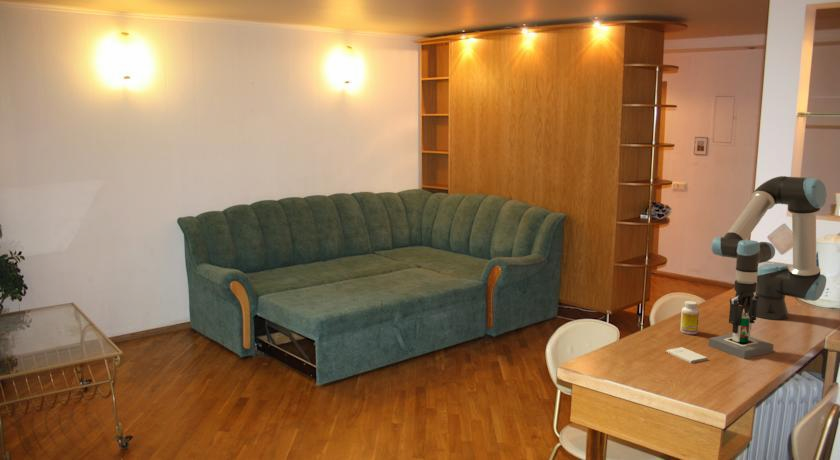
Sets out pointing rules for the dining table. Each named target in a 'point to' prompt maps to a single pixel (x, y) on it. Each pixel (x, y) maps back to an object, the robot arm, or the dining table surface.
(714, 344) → the socket board
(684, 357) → the external hard drive
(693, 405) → the dining table surface
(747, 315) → the soda can
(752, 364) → the dining table surface
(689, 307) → the supplement bottle
